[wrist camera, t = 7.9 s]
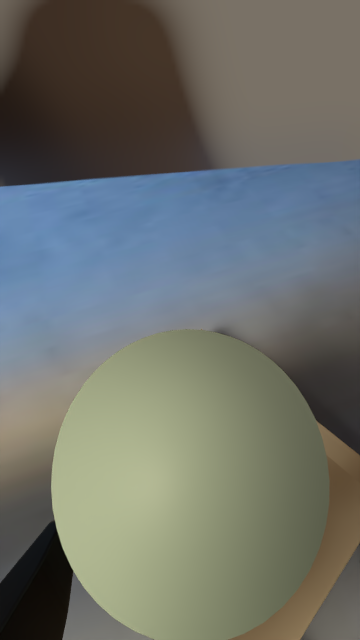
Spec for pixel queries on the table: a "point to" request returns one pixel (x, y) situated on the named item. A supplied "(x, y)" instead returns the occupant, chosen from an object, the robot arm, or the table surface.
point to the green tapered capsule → (190, 486)
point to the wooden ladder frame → (322, 546)
